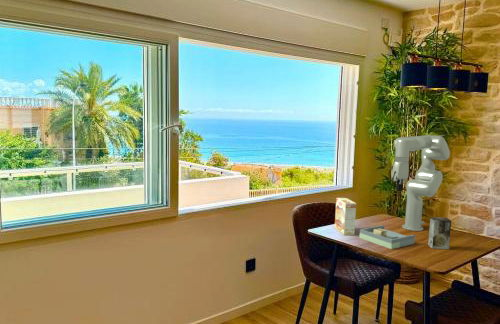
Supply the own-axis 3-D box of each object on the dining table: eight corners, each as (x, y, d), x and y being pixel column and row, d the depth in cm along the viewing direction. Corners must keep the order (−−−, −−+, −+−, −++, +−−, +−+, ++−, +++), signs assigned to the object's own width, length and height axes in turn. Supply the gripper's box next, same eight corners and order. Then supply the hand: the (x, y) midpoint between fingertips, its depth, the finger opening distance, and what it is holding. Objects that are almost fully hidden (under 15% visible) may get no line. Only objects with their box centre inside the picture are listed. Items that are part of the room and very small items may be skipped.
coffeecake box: (334, 228, 247) (335, 197, 244) (344, 228, 248) (346, 197, 246) (343, 235, 232) (345, 203, 230) (354, 235, 233) (356, 203, 231)
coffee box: (444, 245, 219) (447, 217, 217) (449, 249, 213) (452, 220, 211) (427, 244, 220) (430, 216, 218) (431, 248, 214) (434, 219, 212)
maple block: (379, 235, 225) (379, 228, 224) (386, 237, 221) (386, 230, 220) (373, 236, 222) (373, 229, 222) (380, 238, 218) (380, 231, 218)
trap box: (382, 233, 239) (382, 225, 239) (414, 243, 221) (415, 235, 220) (359, 237, 229) (360, 229, 228) (391, 249, 210) (391, 240, 210)
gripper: (404, 158, 239) (401, 188, 241) (388, 159, 231) (385, 190, 233) (415, 160, 233) (412, 190, 235) (399, 161, 225) (396, 192, 227)
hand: (399, 190), depth 234 cm, fingers closed
